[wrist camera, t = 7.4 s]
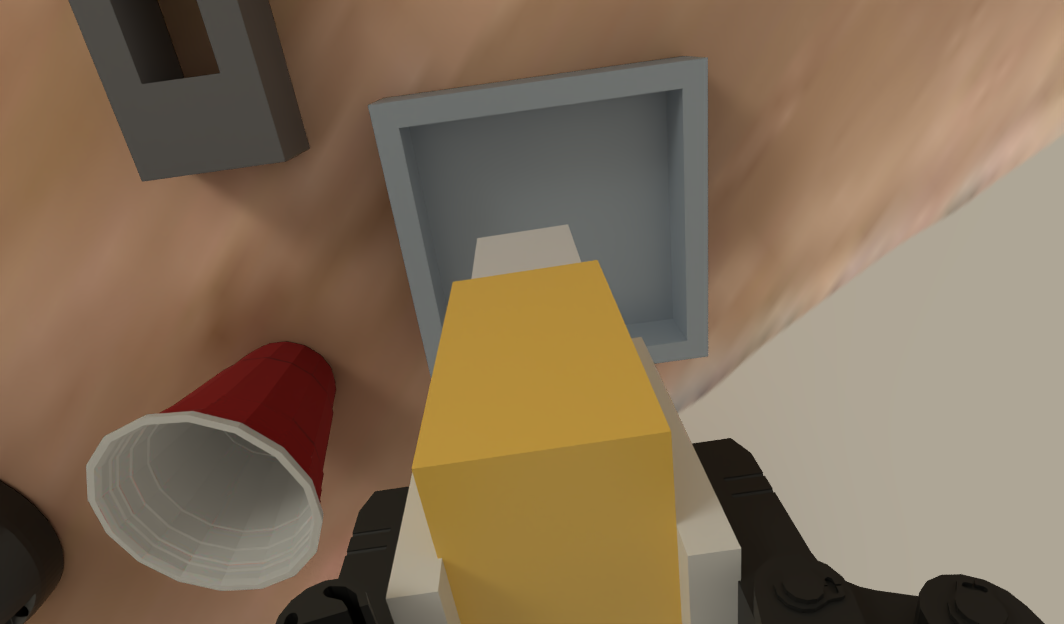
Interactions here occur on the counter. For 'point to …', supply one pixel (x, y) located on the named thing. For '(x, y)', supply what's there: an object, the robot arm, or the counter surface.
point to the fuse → (546, 447)
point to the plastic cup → (224, 474)
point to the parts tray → (561, 186)
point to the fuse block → (195, 87)
